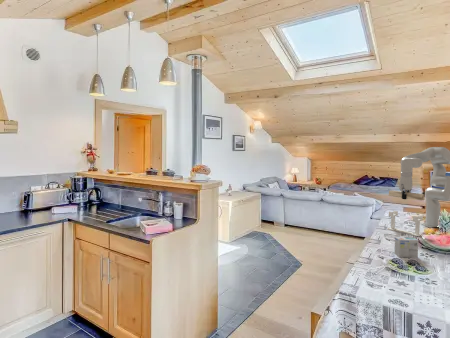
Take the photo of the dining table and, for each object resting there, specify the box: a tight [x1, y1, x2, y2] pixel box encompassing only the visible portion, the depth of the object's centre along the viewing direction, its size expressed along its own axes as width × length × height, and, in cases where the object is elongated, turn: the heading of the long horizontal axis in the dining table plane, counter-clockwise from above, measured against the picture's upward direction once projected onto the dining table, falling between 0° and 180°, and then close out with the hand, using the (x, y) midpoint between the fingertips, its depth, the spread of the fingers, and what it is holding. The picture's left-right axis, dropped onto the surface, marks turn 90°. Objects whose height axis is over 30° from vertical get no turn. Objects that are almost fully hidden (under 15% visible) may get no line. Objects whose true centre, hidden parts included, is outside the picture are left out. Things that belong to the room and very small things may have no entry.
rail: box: [388, 190, 426, 201], centre depth 220 cm, size 4×24×4 cm, turn 30°
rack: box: [387, 210, 424, 237], centre depth 222 cm, size 7×23×14 cm, turn 30°
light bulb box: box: [394, 236, 419, 259], centre depth 175 cm, size 11×7×11 cm, turn 84°
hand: (405, 198), depth 220 cm, fingers closed on rail, 4 cm apart
